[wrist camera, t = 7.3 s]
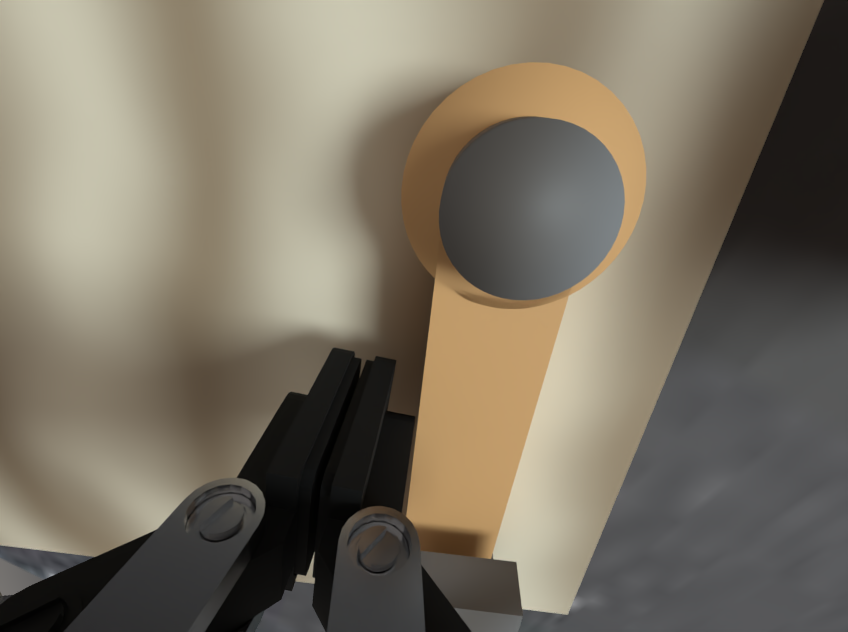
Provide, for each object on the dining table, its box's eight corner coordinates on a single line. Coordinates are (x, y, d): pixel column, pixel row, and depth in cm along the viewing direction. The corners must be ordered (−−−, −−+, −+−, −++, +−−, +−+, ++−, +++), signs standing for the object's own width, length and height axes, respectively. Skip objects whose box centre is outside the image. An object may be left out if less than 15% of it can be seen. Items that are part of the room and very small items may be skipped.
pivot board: (768, 9, 8) (1276, -152, 3) (559, 576, 18) (600, 769, 12) (-336, -49, 9) (-1299, -239, 4) (17, 511, 19) (-151, 665, 14)
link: (422, 61, 8) (411, 48, 6) (634, 85, 8) (687, 78, 6) (384, 527, 14) (373, 587, 12) (497, 543, 14) (502, 606, 12)
